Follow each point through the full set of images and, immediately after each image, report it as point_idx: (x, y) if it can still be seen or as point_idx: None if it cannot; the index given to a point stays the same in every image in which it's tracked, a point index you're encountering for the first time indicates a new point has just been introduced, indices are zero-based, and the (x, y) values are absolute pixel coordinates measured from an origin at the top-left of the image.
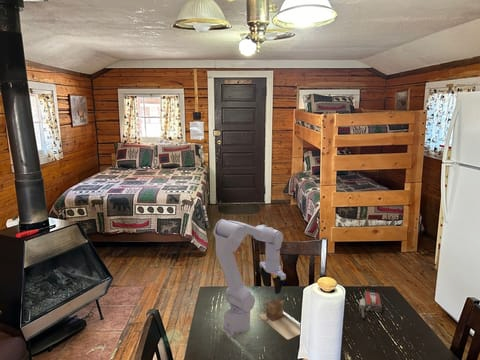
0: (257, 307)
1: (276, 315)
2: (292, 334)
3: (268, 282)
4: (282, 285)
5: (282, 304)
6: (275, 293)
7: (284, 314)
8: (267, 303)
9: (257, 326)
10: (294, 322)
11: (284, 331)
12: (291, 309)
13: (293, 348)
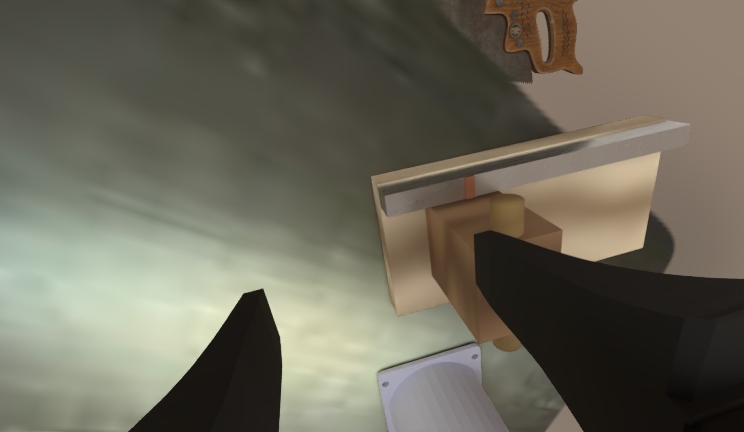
0: (272, 268)
1: None
2: (633, 207)
3: (261, 312)
4: (580, 259)
5: (556, 232)
6: (476, 281)
7: (515, 186)
8: (489, 339)
9: (449, 320)
10: (606, 162)
11: (592, 235)
12: (393, 39)
13: (660, 227)
